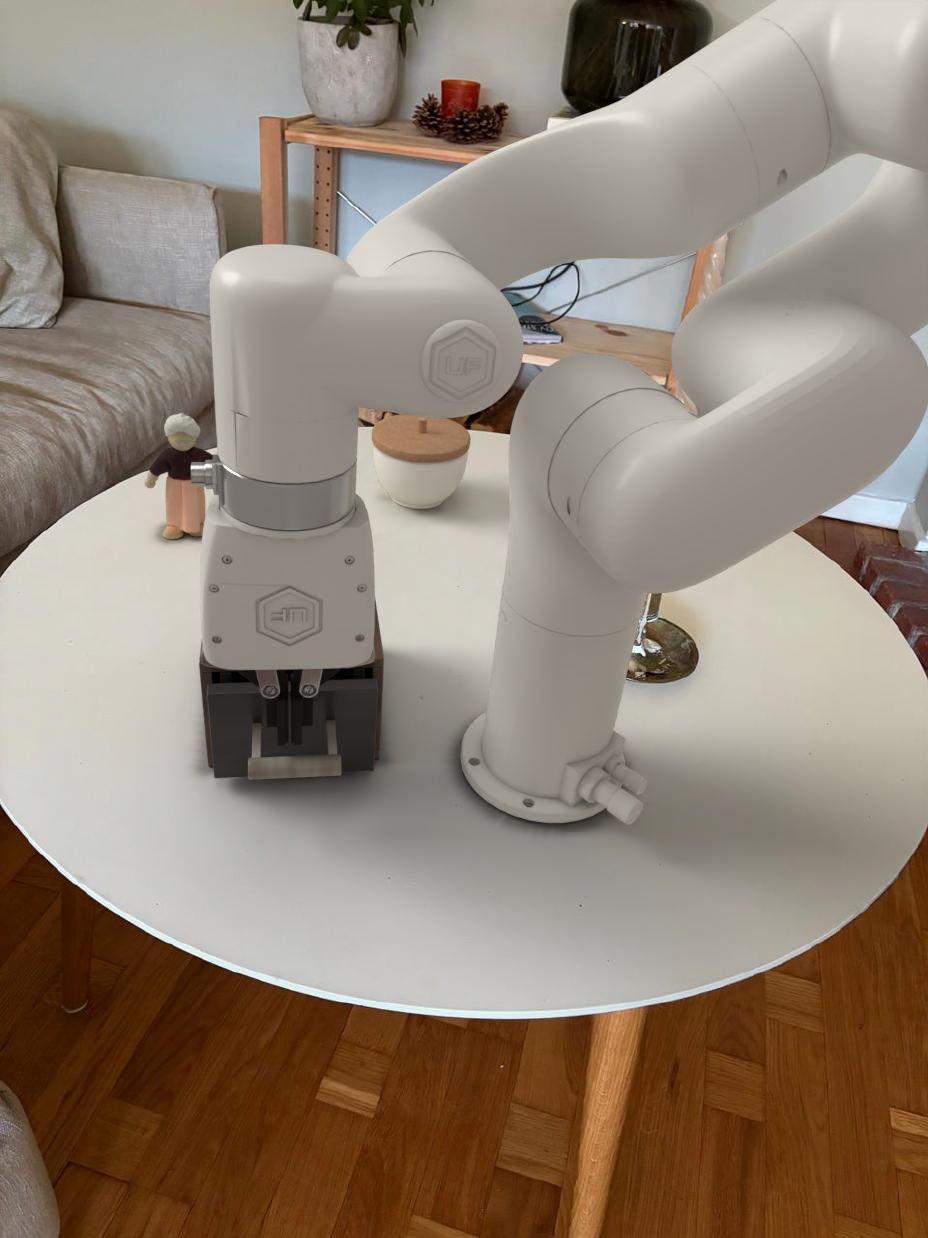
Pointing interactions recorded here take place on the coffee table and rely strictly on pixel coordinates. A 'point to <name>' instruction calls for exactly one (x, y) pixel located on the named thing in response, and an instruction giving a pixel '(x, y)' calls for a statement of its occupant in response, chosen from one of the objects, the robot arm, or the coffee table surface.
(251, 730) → the pull-out drawer
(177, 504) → the grandmother figurine
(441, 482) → the trinket box
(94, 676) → the coffee table surface
